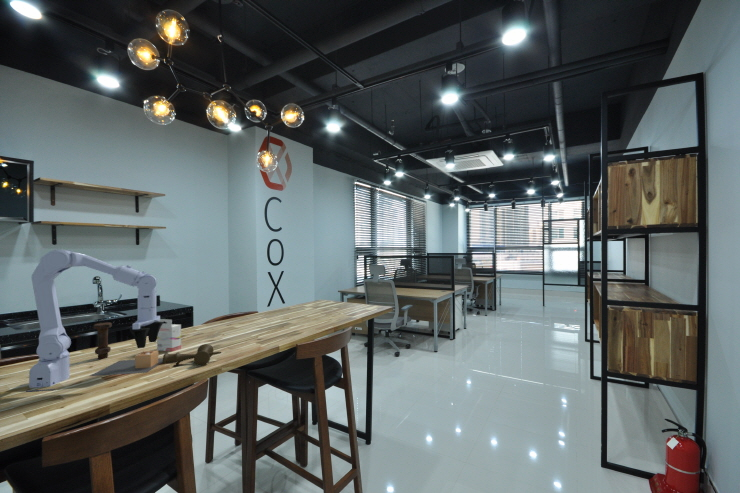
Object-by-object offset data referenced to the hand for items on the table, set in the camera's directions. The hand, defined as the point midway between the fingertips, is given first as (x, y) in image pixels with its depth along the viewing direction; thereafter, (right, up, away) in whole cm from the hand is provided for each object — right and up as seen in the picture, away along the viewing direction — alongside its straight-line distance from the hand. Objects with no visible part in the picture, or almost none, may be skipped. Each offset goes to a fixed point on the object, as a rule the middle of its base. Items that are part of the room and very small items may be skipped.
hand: (147, 344), depth 119 cm
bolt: (-24, -10, +10) cm, 28 cm away
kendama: (+13, -9, +6) cm, 18 cm away
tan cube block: (0, -8, 0) cm, 8 cm away
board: (-5, -9, -1) cm, 10 cm away
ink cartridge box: (-5, -10, +20) cm, 23 cm away
